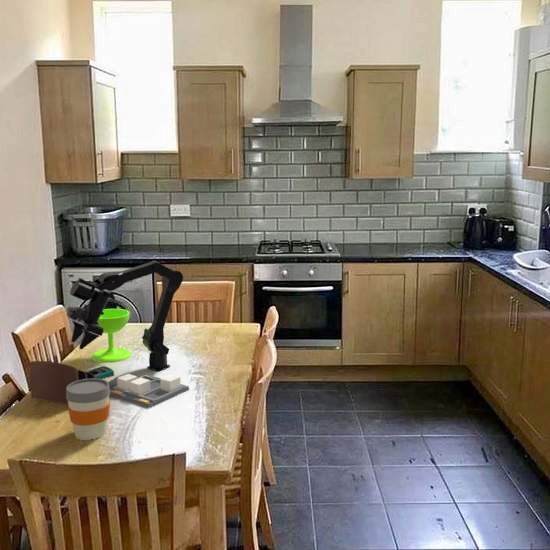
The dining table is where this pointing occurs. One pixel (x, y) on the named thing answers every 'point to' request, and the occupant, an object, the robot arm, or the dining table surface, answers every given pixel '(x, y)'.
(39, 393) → the letter holder
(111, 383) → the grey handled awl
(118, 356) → the wineglass
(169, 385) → the cream square block
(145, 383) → the cream block
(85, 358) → the dining table surface
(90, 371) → the digital multimeter
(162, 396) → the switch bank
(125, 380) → the white block
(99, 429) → the reusable coffee cup
